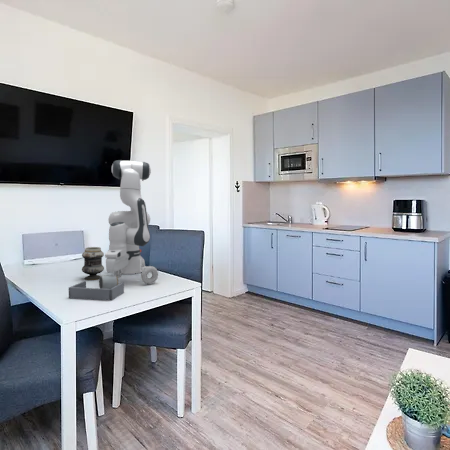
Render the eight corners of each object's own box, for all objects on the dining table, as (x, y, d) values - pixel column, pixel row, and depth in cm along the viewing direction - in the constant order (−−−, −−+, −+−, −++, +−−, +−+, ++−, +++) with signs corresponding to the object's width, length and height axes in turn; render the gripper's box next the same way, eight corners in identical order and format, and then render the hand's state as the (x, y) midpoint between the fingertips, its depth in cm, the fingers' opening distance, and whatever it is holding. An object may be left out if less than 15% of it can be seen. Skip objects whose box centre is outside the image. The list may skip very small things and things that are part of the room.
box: (84, 290, 164) (84, 280, 164) (123, 292, 161) (123, 282, 161) (68, 298, 151) (68, 287, 151) (111, 300, 148) (111, 289, 148)
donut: (142, 286, 173) (142, 267, 173) (139, 285, 176) (139, 266, 175) (159, 283, 180) (159, 265, 179) (156, 282, 183) (156, 264, 182)
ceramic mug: (119, 290, 166) (118, 275, 165) (102, 292, 161) (102, 277, 161) (113, 285, 174) (112, 271, 174) (97, 288, 170) (96, 273, 169)
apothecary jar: (96, 281, 183) (95, 249, 182) (77, 280, 185) (76, 248, 184) (108, 276, 195) (107, 246, 193) (90, 275, 197) (89, 246, 196)
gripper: (120, 249, 186) (120, 273, 186) (103, 254, 165) (103, 281, 166) (131, 249, 185) (131, 273, 186) (115, 255, 165) (115, 282, 165)
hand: (118, 277), depth 176 cm, fingers closed
